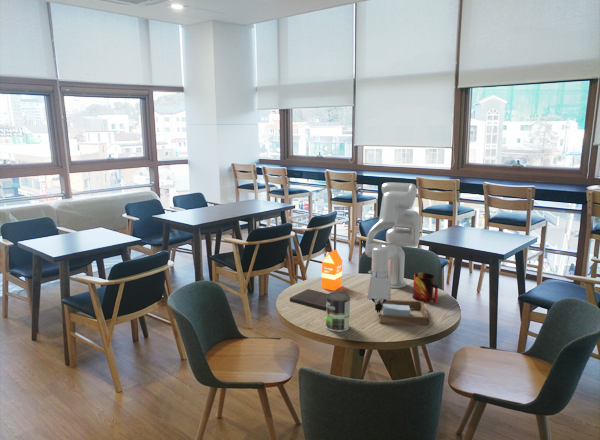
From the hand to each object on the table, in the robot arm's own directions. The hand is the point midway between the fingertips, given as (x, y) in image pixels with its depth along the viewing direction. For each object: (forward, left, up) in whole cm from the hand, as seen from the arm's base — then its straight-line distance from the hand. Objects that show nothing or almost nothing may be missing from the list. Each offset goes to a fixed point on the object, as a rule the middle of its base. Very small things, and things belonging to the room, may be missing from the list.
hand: (378, 311), depth 216 cm
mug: (-23, +25, -2) cm, 34 cm away
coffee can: (+16, -18, -2) cm, 24 cm away
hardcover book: (-13, -29, -2) cm, 32 cm away
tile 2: (0, +11, -2) cm, 11 cm away
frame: (0, +11, -1) cm, 11 cm away
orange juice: (-35, -23, -2) cm, 42 cm away
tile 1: (0, +5, -1) cm, 5 cm away
